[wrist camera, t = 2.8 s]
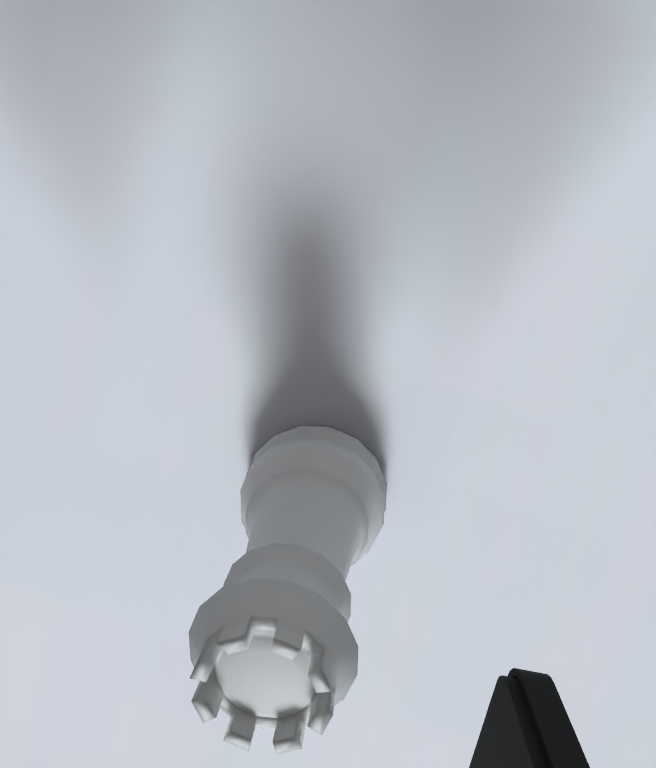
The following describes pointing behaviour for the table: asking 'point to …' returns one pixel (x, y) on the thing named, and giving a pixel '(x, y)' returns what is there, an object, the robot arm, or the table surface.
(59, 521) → the table surface
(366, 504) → the rook chess piece
